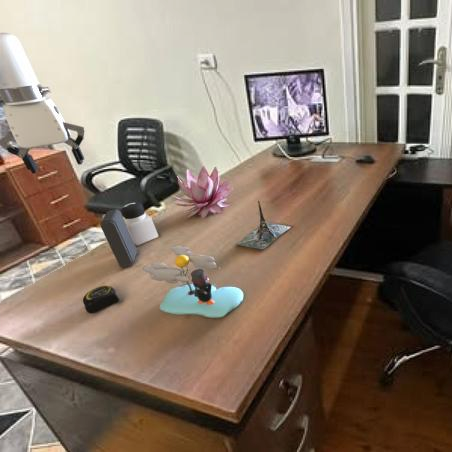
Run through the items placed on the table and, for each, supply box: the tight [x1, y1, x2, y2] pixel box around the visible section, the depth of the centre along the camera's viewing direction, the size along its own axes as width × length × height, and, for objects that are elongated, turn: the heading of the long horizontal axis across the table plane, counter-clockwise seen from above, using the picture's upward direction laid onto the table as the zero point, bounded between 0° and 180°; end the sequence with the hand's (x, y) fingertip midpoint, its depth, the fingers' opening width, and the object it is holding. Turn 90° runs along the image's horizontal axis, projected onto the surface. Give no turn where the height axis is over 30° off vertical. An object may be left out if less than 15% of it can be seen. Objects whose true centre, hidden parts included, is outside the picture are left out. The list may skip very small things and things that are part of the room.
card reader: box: [99, 208, 138, 268], centre depth 100 cm, size 9×4×15 cm, turn 19°
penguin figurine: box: [142, 245, 244, 319], centre depth 80 cm, size 20×11×15 cm, turn 75°
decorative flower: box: [170, 165, 235, 220], centre depth 125 cm, size 21×21×15 cm
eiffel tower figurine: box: [236, 199, 292, 250], centre depth 106 cm, size 15×10×13 cm
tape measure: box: [82, 285, 120, 315], centre depth 86 cm, size 7×7×4 cm
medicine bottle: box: [120, 202, 159, 247], centre depth 112 cm, size 7×7×12 cm
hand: (58, 167), depth 87 cm, fingers open, 9 cm apart
